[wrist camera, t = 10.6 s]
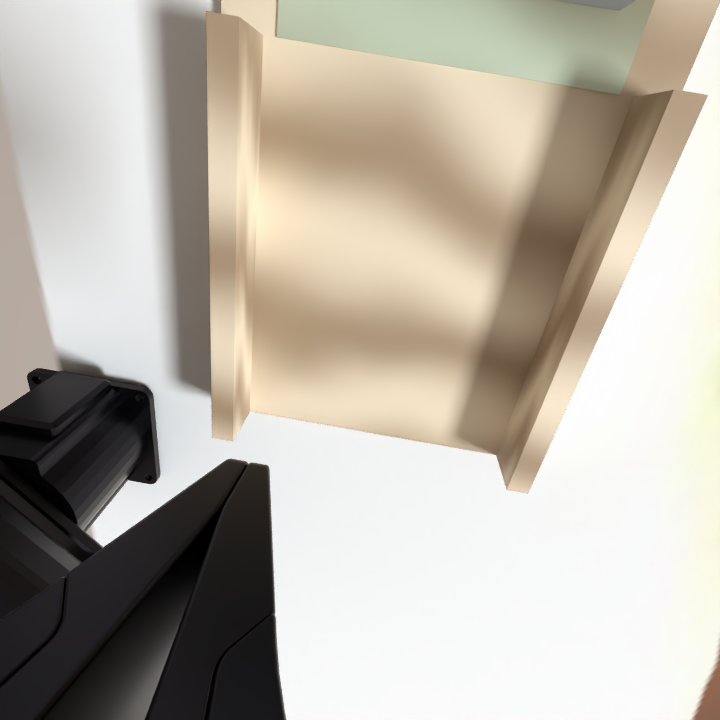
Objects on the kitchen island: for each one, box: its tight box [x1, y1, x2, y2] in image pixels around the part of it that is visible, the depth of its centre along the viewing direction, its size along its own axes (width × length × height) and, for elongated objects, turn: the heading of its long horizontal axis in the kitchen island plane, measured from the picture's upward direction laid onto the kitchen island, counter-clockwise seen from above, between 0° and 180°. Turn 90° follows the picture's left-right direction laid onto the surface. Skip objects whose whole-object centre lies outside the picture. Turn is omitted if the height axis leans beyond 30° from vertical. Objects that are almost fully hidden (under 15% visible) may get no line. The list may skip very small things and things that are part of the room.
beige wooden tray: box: [206, 0, 720, 493], centre depth 16 cm, size 24×16×3 cm, turn 172°
